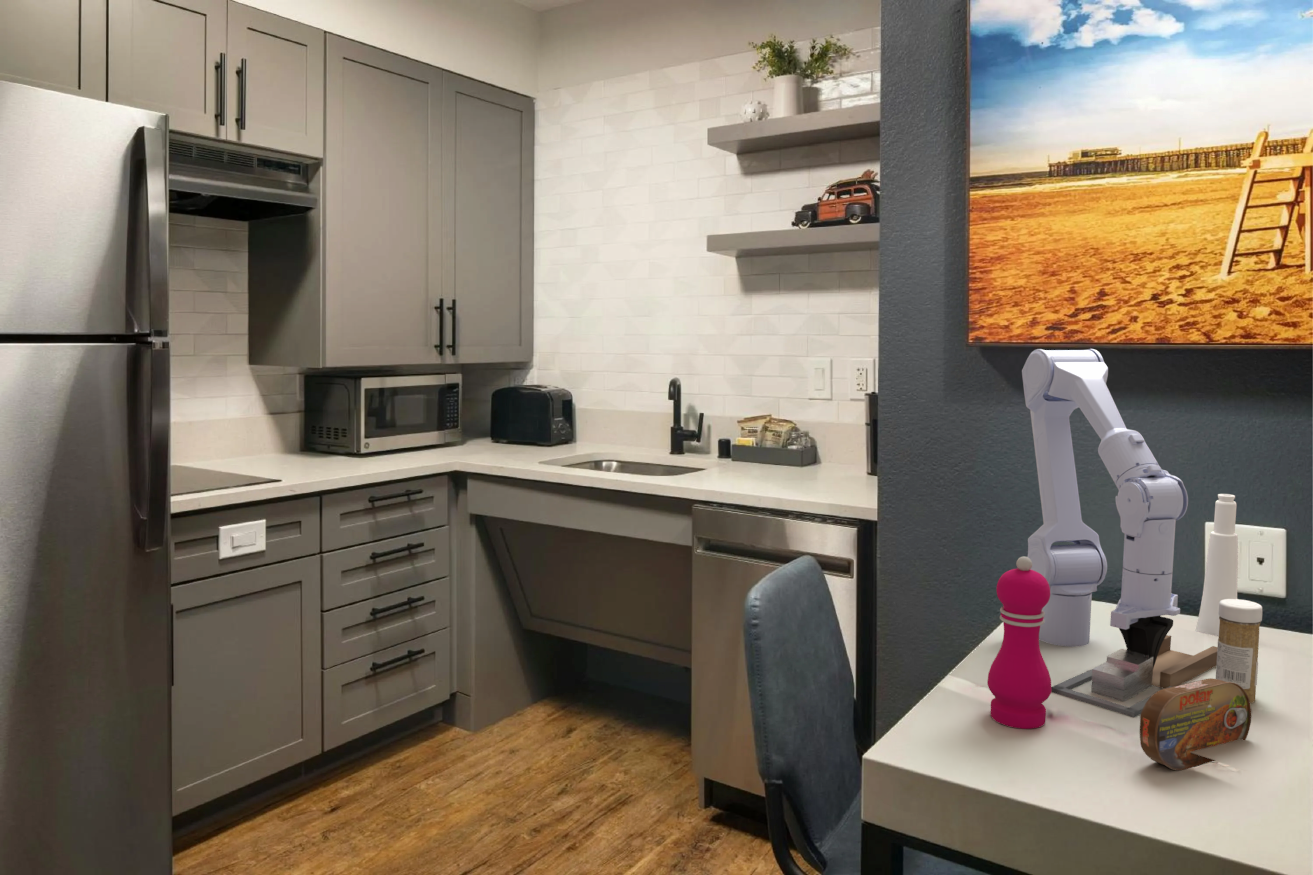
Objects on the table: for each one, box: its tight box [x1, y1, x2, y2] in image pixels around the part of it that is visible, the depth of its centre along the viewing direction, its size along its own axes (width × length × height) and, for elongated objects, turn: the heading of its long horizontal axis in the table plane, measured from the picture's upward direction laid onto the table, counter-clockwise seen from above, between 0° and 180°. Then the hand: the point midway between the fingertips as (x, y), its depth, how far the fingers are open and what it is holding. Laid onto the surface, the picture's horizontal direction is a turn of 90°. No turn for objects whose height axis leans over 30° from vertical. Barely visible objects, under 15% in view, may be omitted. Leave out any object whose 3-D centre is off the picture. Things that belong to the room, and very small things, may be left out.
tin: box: [1139, 677, 1252, 771], centre depth 104 cm, size 15×3×8 cm, turn 114°
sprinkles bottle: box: [1215, 598, 1263, 704], centre depth 118 cm, size 5×5×13 cm
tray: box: [1051, 668, 1172, 718], centre depth 120 cm, size 10×12×2 cm
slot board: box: [1152, 634, 1218, 689], centre depth 128 cm, size 8×16×4 cm, turn 129°
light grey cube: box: [1090, 660, 1140, 702], centre depth 119 cm, size 4×4×4 cm
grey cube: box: [1106, 648, 1153, 694], centre depth 122 cm, size 4×4×4 cm
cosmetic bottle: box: [1194, 493, 1239, 638], centre depth 145 cm, size 6×6×22 cm
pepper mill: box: [987, 556, 1052, 730], centre depth 114 cm, size 7×7×20 cm
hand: (1141, 671), depth 124 cm, fingers closed
